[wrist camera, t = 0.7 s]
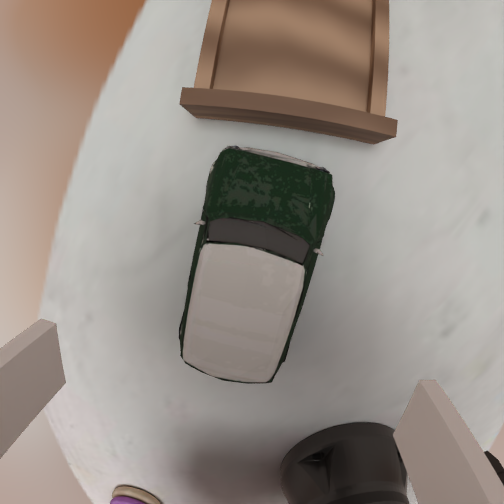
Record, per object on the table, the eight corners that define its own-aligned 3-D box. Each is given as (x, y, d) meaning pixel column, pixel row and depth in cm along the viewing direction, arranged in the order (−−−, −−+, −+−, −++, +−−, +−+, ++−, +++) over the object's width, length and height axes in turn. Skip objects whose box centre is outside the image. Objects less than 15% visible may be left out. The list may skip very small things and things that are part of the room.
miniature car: (334, 169, 25) (361, 165, 17) (277, 366, 29) (277, 423, 21) (224, 142, 25) (203, 125, 17) (182, 343, 29) (155, 393, 21)
